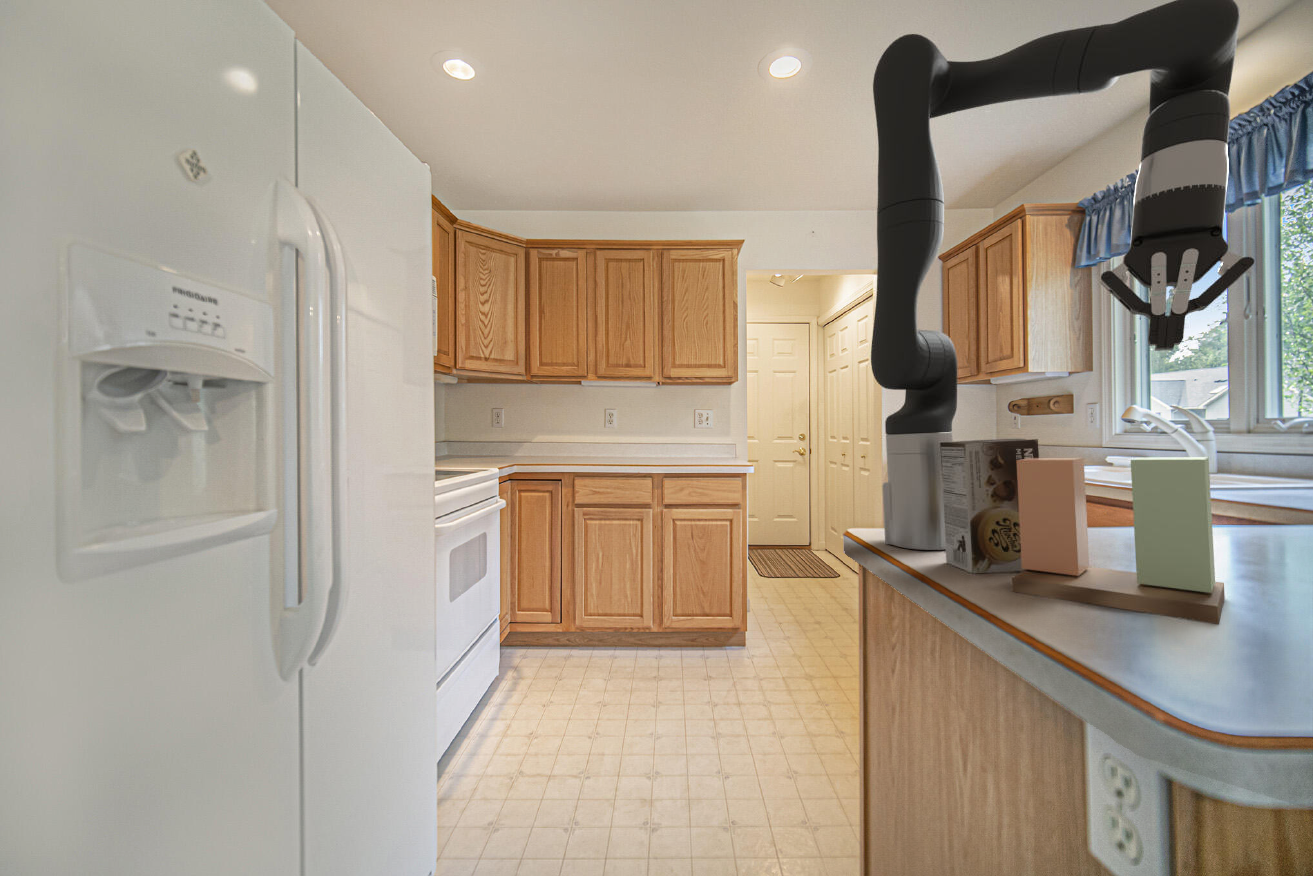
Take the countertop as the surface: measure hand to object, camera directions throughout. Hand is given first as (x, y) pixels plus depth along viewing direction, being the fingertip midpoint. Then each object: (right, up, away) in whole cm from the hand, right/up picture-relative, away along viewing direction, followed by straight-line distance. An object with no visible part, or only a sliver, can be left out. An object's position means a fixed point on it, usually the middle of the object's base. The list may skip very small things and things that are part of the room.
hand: (1164, 349), depth 60 cm
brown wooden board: (-12, -26, -7) cm, 29 cm away
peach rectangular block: (-14, -24, -2) cm, 28 cm away
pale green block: (-8, -24, -9) cm, 27 cm away
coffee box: (-15, -27, +6) cm, 31 cm away
